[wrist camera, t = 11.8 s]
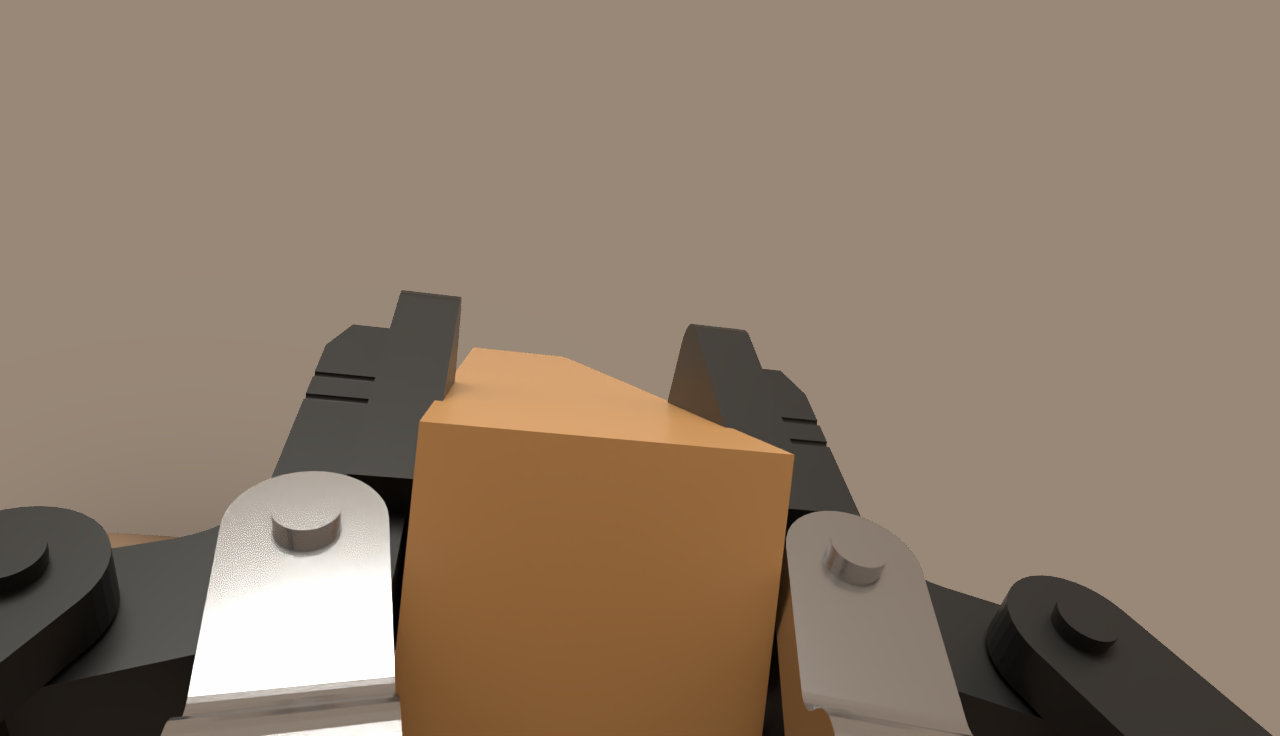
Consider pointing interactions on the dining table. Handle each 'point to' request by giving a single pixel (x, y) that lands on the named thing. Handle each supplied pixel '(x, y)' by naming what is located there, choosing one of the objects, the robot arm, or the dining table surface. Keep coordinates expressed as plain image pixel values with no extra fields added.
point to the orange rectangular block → (585, 560)
